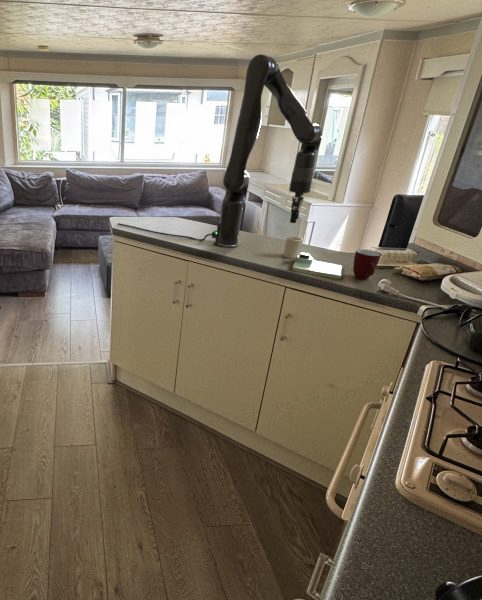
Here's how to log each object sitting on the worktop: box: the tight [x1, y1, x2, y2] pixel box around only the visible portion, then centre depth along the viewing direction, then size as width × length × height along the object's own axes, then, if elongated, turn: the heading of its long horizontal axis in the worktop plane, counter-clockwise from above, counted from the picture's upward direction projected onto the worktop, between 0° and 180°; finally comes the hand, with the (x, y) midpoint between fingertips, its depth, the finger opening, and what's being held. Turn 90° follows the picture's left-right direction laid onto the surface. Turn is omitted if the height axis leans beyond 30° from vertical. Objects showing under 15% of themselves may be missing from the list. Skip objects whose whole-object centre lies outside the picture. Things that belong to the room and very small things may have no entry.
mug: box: [352, 248, 382, 281], centre depth 158 cm, size 11×8×10 cm
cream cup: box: [282, 235, 304, 260], centre depth 181 cm, size 6×6×8 cm
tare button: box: [299, 252, 311, 259], centre depth 172 cm, size 4×4×2 cm
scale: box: [291, 254, 343, 280], centre depth 168 cm, size 17×14×3 cm
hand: (293, 220), depth 173 cm, fingers open, 8 cm apart
